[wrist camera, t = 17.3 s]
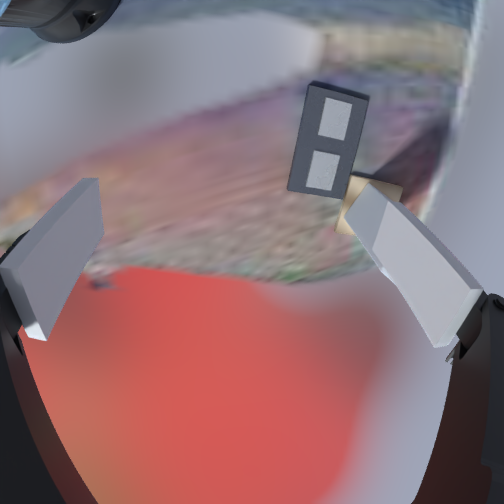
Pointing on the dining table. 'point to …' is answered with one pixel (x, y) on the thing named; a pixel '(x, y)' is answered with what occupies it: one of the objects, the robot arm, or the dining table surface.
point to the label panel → (326, 142)
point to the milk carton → (368, 219)
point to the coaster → (354, 190)
